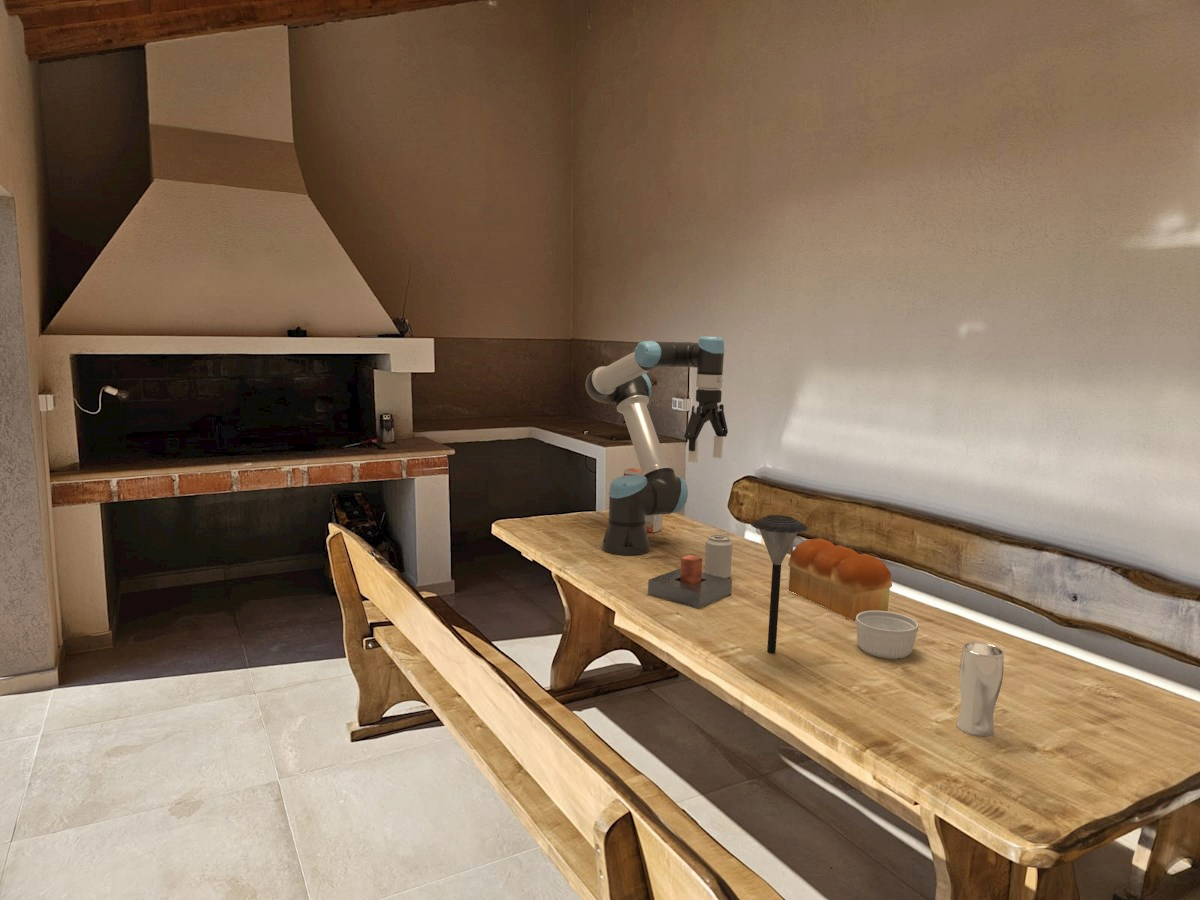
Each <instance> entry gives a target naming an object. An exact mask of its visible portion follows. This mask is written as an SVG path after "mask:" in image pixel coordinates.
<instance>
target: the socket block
mask: <svg viewBox="0 0 1200 900" xmlns="http://www.w3.org/2000/svg"><path fill="white" fill-rule="evenodd" d="M680 577H681V567H680V568H677V569H674V570H671V571H669V572H666V573H663V574H660V575H657V576H655V577H652V578H649V579H648V581H647V582H648V583H647V585H648V587H647V595H648V594H649V596H653V597H656V598H659V597H660V599H663V598H664V599H663V600H666V599H667V601H670V602H675V603H678V604H681V605H685V606H688V605H689V606H688V607H692V608H695V607H696V608H697V609H701V608H704V607H705V606H706V607H707V606H708V605H710V604H712V602H713V603H715V602H717V601H719V600H721V598H722V599H723V597H724V598H725V597H728V596H730V595H729V594H731V595H732V589H733V588H732V586H733V580H732V579H730V578H723V577H719V576H714V575H710V574H706V573H704V572H702V575H701V582H700V583H698V584H695V585H692V584H688V583H684V582H680ZM703 606H704V607H703Z"/></svg>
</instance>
